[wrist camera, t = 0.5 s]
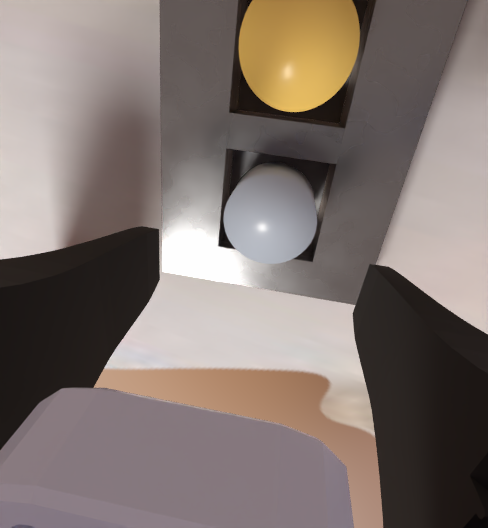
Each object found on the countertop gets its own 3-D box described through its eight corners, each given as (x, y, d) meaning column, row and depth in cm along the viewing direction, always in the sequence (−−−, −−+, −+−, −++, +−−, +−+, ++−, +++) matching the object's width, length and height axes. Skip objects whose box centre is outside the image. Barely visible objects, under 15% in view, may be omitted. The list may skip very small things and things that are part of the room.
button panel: (572, -390, 10) (650, -524, 8) (354, 283, 22) (360, 305, 19) (183, -400, 11) (154, -523, 9) (175, 253, 22) (162, 271, 20)
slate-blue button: (322, 168, 17) (326, 183, 14) (305, 245, 19) (306, 270, 17) (238, 156, 17) (227, 168, 15) (230, 233, 19) (220, 256, 17)
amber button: (361, -3, 14) (375, -24, 11) (334, 113, 16) (342, 119, 13) (255, -15, 14) (245, -38, 11) (243, 101, 16) (233, 104, 13)
